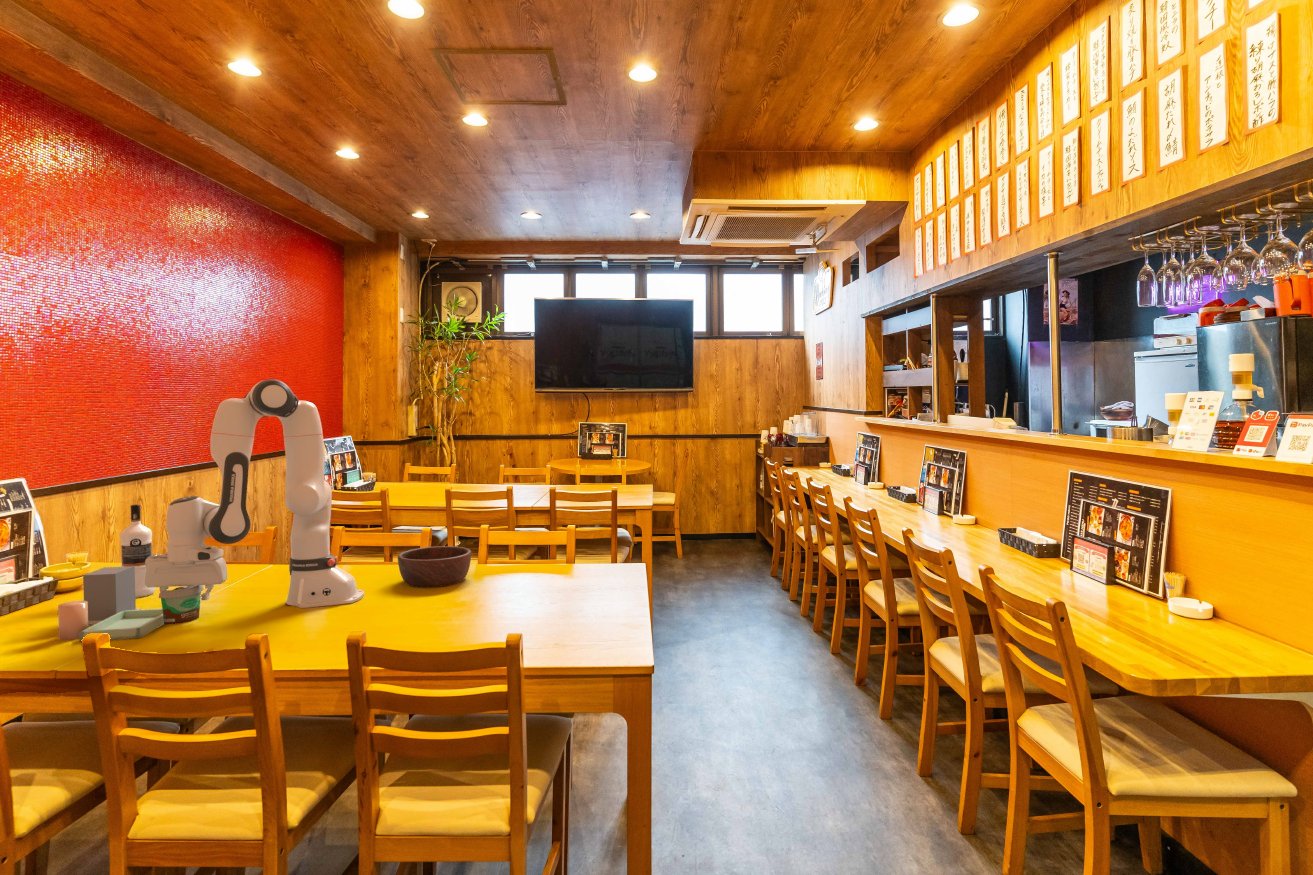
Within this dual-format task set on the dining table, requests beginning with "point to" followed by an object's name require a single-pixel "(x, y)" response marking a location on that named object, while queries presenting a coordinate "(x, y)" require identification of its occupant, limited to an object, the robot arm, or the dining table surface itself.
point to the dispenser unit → (109, 592)
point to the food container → (181, 604)
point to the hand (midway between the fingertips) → (187, 600)
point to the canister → (72, 619)
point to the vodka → (137, 550)
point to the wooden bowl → (434, 566)
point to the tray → (128, 624)
